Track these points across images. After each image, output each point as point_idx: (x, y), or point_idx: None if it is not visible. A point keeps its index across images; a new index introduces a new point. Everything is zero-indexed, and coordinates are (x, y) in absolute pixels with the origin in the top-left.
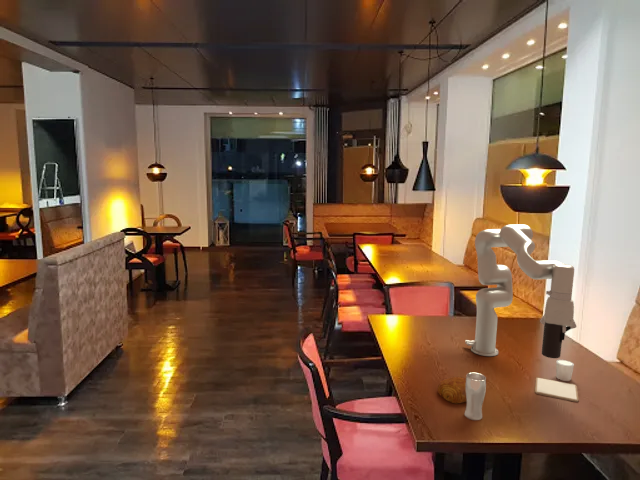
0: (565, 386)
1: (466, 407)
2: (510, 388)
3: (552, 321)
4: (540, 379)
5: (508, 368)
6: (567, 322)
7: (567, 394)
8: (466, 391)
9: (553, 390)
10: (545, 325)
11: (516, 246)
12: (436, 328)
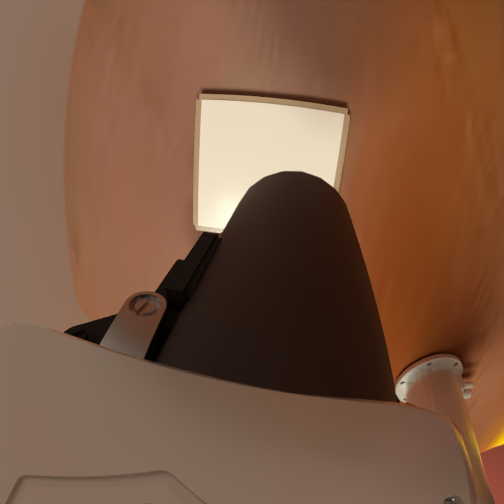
0: (230, 199)
1: None
2: (430, 131)
3: (326, 442)
4: None
5: (401, 298)
6: (10, 374)
7: (230, 128)
8: None
9: (278, 145)
10: (393, 389)
11: None
12: None
